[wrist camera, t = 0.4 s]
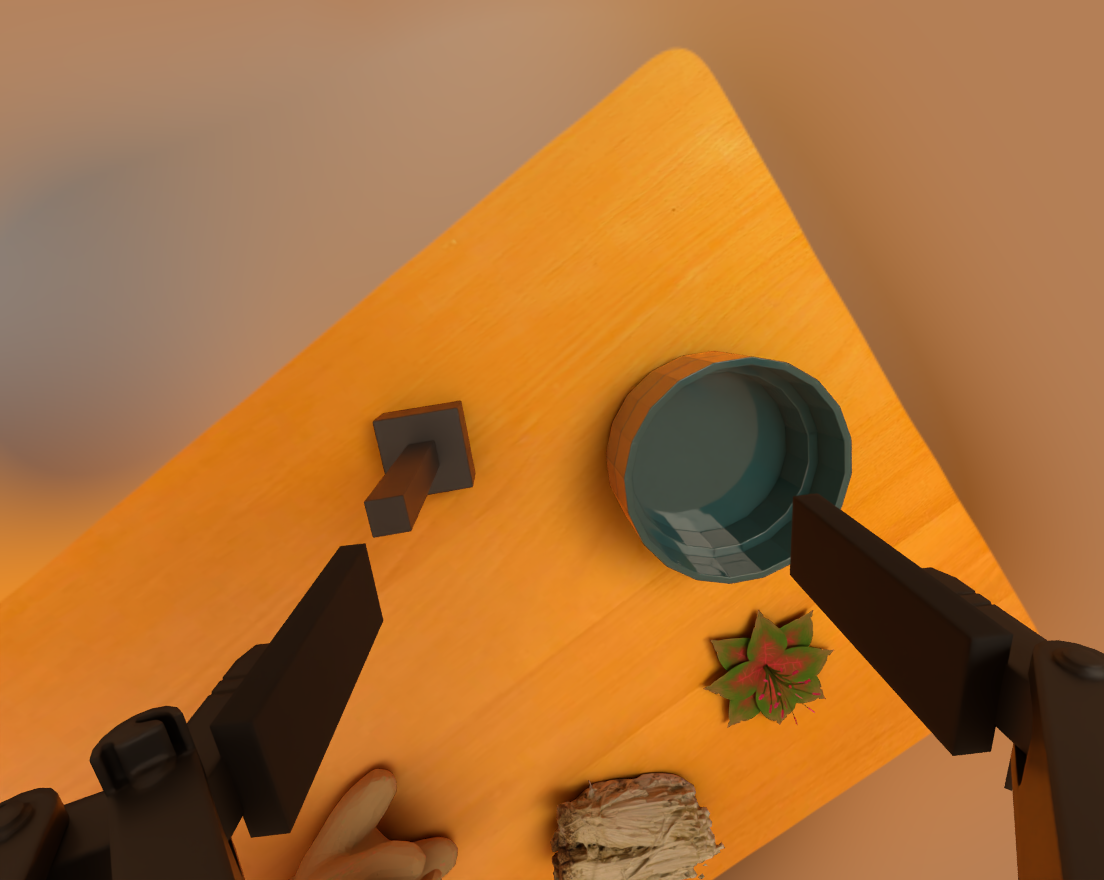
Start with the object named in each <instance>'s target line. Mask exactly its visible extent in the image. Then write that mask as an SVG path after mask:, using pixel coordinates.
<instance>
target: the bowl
mask: <svg viewBox="0 0 1104 880" xmlns="http://www.w3.org/2000/svg"><path fill="white" fill-rule="evenodd" d="M606 459H607V467H608V475H609V483H610V487H611V489H612V491H613V493H614V495H615V497H616V499H617V501H618V503H619V505H620V507H621V509H622V511H623V512H624V514H625V516H626V517H627V519H628V520H629V522H630V524H631V525H632V527H633V528H634V530H635V532H636V533H637V535H638V536H639V538H640V540H641V541H642V543H643V544H644V545H645V546H646V547H647V548H648V549H649V550H650V551H651V552H652V553H653V554H654V555H655V556H656V557H657V558H658V559H659V560H660V561H661V562H663V563H664V564H665V565H666V566H667V567H669V568H671V569H673V570H676V571H678V572H680V573H682V574H684V575H687V576H689V577H691V578H693V579H695V580H700V581H709V582H718V583H727V584H732V583H737V582H742V581H748V580H753V579H758V578H763V577H766V576H768V575H770V574H772V573H774V572H776V571H778V570H780V569H782V568H784V567H786V566H788V565H790V560H791V535H792V509H793V496H798V495H807V494H816V493H818V494H819V495H821V496H822V497H824V498H825V499H826V500H828V501H829V502H831V503H832V504H833V505H835V506H836V507H837V508H839V509H841V507H842V505H843V501H844V498H845V495H846V491H847V488H848V485H849V481H850V478H851V475H852V440H851V436H850V433H849V431H848V428H847V425H846V422H845V419H844V416H843V414H842V411H841V408H840V406H839V405H838V404H837V402H836V401H835V400H834V399H833V397H832V396H831V395H830V394H829V393H828V391H827V390H826V389H825V388H824V387H823V385H822V384H821V383H820V382H819V381H818V380H817V379H815V378H814V377H812V376H810V375H808V374H807V373H805V372H803V371H801V370H800V369H798V368H796V367H794V366H793V365H791V364H789V363H787V362H781V361H775V360H770V359H764V358H758V357H752V356H745V355H738V354H732V353H725V352H718V351H709V352H703V353H697V354H691V355H685V356H682V357H679V358H677V359H675V360H673V361H671V362H669V363H667V364H665V365H663V366H661V367H659V368H657V369H655V370H653V371H652V372H650V373H649V374H648V375H647V376H646V377H645V378H644V379H643V380H642V381H641V382H640V383H639V384H638V385H637V386H636V387H635V388H634V389H633V390H632V391H631V392H630V393H629V394H628V395H627V397H626V399H625V400H624V402H623V404H622V406H621V408H620V410H619V411H618V413H617V415H616V417H615V419H614V421H613V423H612V426H611V431H610V436H609V442H608V447H607V452H606Z"/></svg>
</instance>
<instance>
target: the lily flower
mask: <svg viewBox="0 0 1104 880" xmlns="http://www.w3.org/2000/svg"><path fill="white" fill-rule="evenodd" d="M812 612H813V610H812V611H811V612H809V613H808V614H806V615H804V616H802V617H801V618H800V619H796V620H794V621H792V622H790V623H788V624H786V625H784V626H783V627H781V628H780V629H779V628H778V627H777V626H776V625H775V624H773V623H772V622H771V621H770V620H769V619H766V618H764V617H763V614H762V613H761V612H760V611H759V610H758V616H757V619H756V622H755V628H754V629H753V633H752V637H751V639H750V638H732V639H722V640H720V641H717V640H710V641H711V642H712V644H713V646H714V649H715V651H716V652H717V656H718V659H719V661H720V663H721V665H722V666H723V667H724V669H725V670H727V671H728V672H727V673H726V674H725V675H724V676H722V677H720V678H719V679H717V680H716V681H715V682H713V684H711V686H707V687H706V688H704V689H705V690H709V691H711V692H713V693H715V694H720V696H722V697H724V698H726V699H729V700H730V703H729V720H730V722H729V723H728V727H730V726H731V725H734V724H737V723H740V722H741V720H742V721H746V720H749V719H751V718H753V717H755V716H756V715H757V714H758V713H759V712H760V711H761V712H762V713H763V715H764V716H765V717H767V718H768V719H770V720H773V721H777V723H778V724H779V725H780V724H781V722H782V721H783V720H784V719H785V718H786V717H787V716H786V715H787V714H790V713H791V712H792V711H793V710H794V708H795V704H796V703H802V704H803V703H807V702H811V701H814V700H816V699H817V698H819V699H826V698H825V697H824V695H823V691H822V689H820V687H821V684H820V681H819V679H818V677H817V676H816V675H818V674H819V673H820V671H821V670H822V668H823V666H824V665H825V663H826V661H827V656H828V655H830V654H831V653H832V652H833V650H827V649H823V650H822V649H821V648H814V647H809V645H810V643H811V640H812V637H813V623H812V620H811V617H812ZM806 707H807V706H806ZM807 708H808V707H807ZM809 709H810V708H809ZM810 710H811V709H810ZM811 711H812V710H811ZM813 712H814V711H813ZM792 713H793V712H792ZM814 713H815V712H814ZM793 715H794V714H793ZM794 719H795V717H794ZM795 721H796V719H795ZM796 724H797V722H796Z"/></svg>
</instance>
